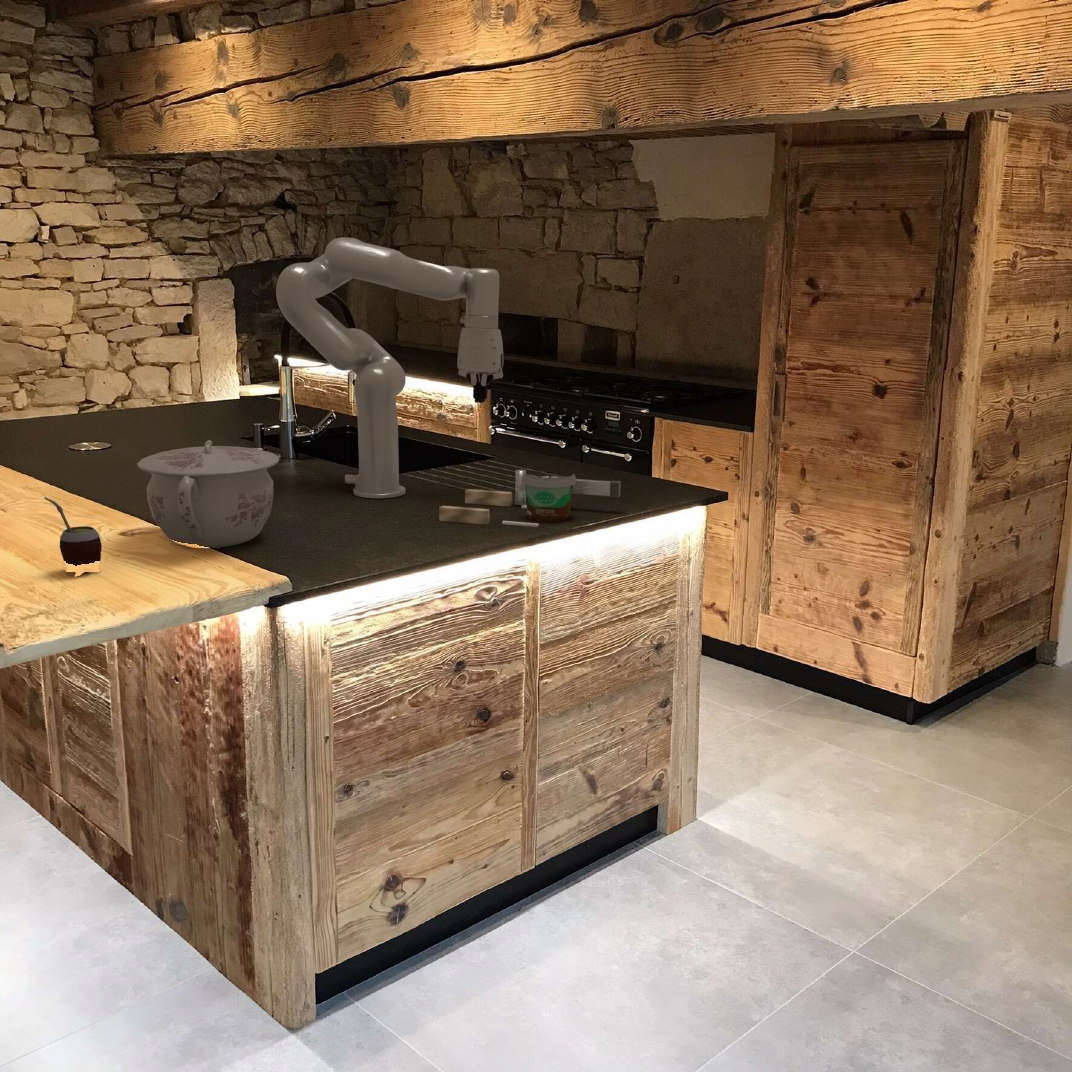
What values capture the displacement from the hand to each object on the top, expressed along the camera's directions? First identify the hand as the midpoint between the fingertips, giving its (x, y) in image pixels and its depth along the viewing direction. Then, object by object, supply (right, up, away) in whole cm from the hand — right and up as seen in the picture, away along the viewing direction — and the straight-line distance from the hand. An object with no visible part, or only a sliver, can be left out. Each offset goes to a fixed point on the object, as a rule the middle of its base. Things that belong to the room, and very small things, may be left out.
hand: (479, 401), depth 257 cm
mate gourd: (-70, -39, -58) cm, 99 cm away
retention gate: (+20, -25, -4) cm, 32 cm away
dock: (0, -26, -8) cm, 28 cm away
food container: (+16, -28, -14) cm, 35 cm away
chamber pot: (-53, -33, -35) cm, 71 cm away
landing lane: (+12, -27, -11) cm, 32 cm away
